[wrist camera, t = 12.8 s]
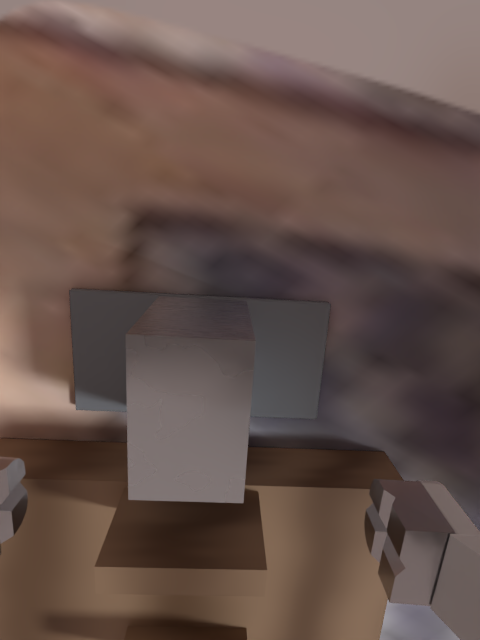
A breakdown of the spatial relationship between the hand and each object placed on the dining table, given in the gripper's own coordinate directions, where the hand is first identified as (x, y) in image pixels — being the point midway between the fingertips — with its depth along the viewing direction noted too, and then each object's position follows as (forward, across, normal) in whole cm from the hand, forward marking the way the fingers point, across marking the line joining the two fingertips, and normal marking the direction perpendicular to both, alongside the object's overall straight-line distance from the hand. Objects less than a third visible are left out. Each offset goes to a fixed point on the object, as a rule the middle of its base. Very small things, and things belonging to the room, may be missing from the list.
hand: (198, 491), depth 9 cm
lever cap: (+10, +1, 0) cm, 10 cm away
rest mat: (+10, +1, 0) cm, 10 cm away
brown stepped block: (+10, +1, +10) cm, 14 cm away
